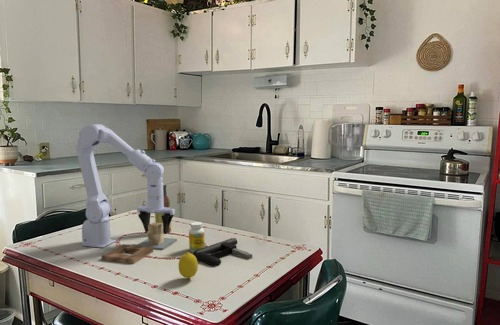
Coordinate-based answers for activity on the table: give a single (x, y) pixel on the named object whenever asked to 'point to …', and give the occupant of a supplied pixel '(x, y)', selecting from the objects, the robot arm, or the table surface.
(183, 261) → the lemon
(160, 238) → the beech block
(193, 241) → the supplement bottle
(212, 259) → the toy gun
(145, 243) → the grey square plate
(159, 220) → the sauce bottle
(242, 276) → the table surface
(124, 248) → the brown wooden square frame
